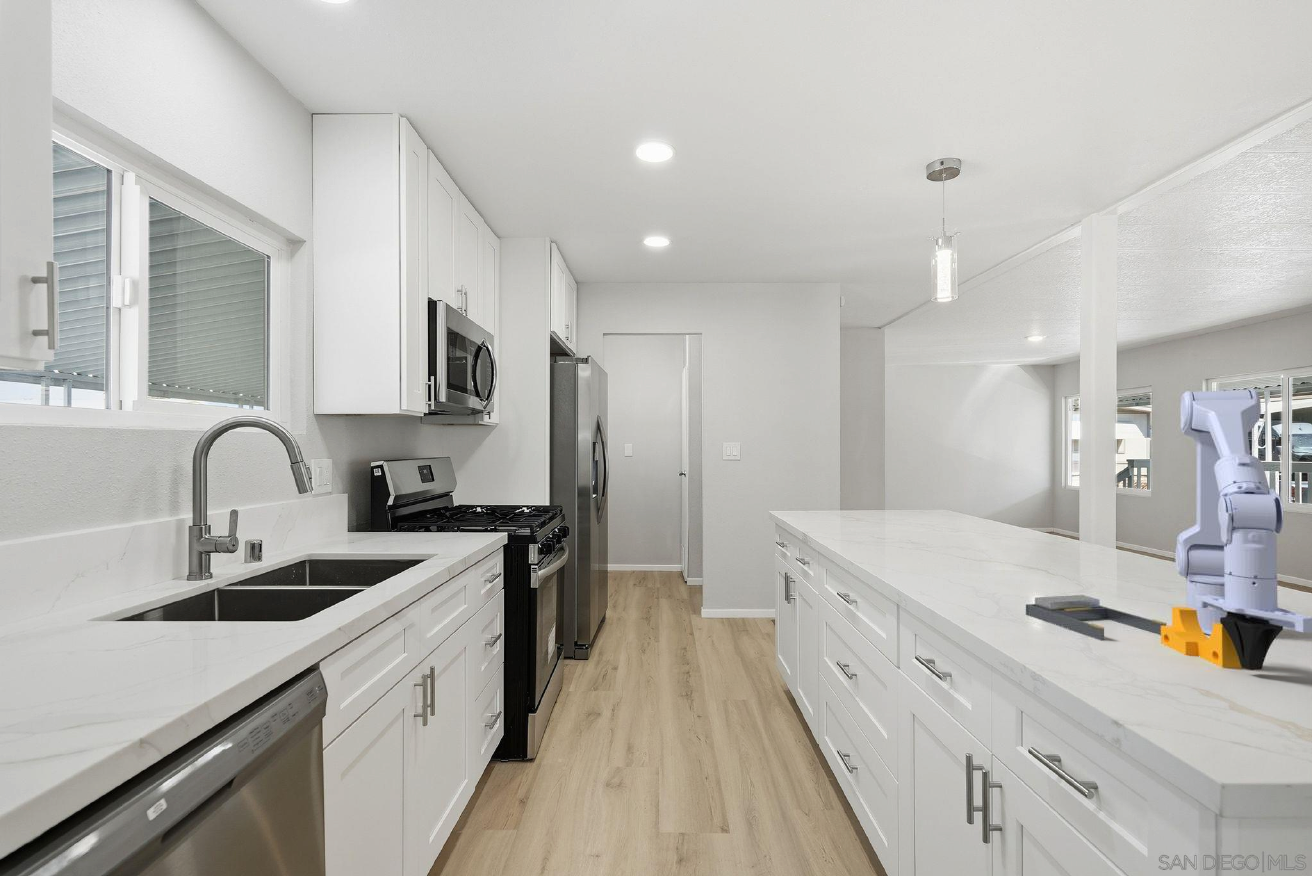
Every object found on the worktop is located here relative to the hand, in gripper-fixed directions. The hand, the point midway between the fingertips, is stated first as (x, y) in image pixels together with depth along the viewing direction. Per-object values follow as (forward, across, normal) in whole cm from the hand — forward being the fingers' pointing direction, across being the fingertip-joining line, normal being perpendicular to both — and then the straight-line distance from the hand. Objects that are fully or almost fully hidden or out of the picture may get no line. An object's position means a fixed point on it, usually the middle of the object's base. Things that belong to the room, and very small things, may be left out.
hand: (1251, 668), depth 95 cm
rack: (+1, -27, 0) cm, 27 cm away
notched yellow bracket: (+1, -9, +2) cm, 9 cm away
